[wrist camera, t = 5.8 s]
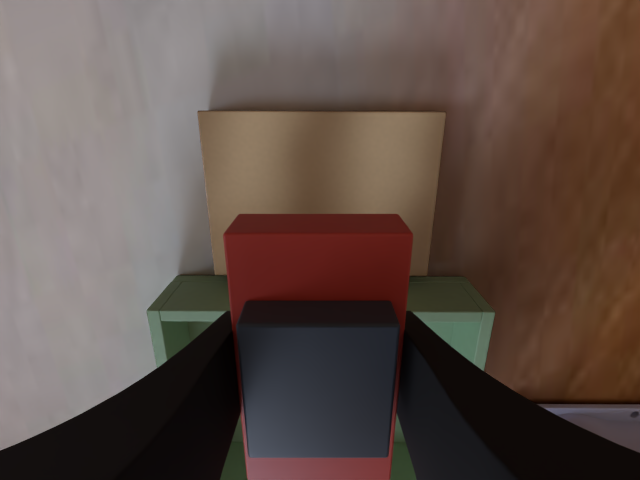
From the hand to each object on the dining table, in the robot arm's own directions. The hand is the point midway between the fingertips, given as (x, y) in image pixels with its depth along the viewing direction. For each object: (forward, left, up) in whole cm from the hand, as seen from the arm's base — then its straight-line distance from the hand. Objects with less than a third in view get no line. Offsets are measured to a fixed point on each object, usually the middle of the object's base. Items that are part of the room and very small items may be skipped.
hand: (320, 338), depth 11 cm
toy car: (0, 0, -1) cm, 1 cm away
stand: (0, -3, -9) cm, 9 cm away
